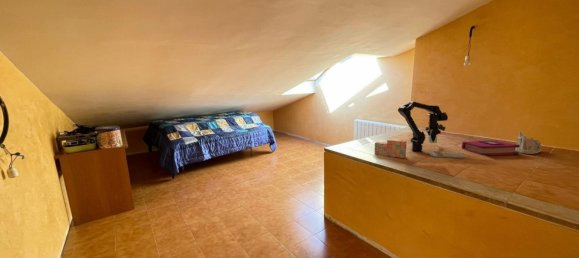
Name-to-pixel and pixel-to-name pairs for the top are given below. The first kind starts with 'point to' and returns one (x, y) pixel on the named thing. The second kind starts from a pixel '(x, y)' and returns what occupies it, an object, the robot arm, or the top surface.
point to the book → (490, 148)
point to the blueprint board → (447, 155)
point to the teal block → (431, 139)
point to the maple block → (439, 150)
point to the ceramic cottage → (527, 144)
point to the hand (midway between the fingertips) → (432, 140)
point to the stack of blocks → (391, 148)
